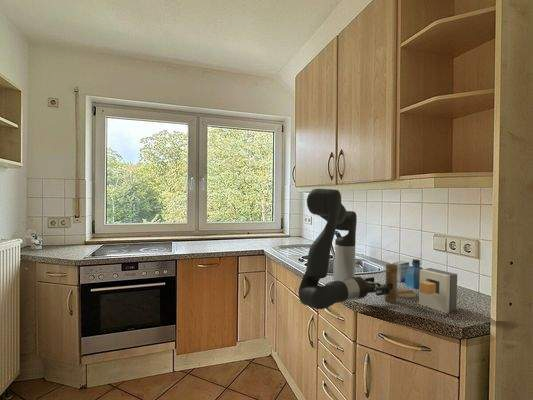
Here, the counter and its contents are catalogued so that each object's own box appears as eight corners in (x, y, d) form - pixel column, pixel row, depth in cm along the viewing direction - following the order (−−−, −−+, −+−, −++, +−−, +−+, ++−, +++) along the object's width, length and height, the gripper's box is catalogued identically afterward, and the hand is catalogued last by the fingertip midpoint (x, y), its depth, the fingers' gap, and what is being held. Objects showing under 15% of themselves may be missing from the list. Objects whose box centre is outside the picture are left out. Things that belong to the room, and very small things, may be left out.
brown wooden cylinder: (382, 300, 116) (383, 264, 116) (389, 298, 118) (390, 263, 118) (391, 303, 113) (392, 266, 113) (398, 302, 115) (399, 265, 115)
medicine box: (400, 282, 142) (400, 264, 142) (391, 280, 145) (392, 262, 145) (409, 279, 146) (409, 262, 146) (400, 277, 150) (400, 260, 150)
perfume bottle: (417, 284, 139) (417, 258, 139) (426, 288, 133) (427, 261, 133) (405, 284, 138) (405, 258, 138) (413, 288, 132) (414, 261, 132)
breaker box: (419, 304, 113) (419, 269, 113) (429, 301, 116) (430, 267, 116) (445, 313, 104) (446, 276, 104) (456, 310, 107) (457, 274, 107)
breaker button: (419, 291, 108) (419, 282, 108) (426, 290, 110) (426, 281, 109) (428, 294, 105) (429, 284, 105) (435, 293, 107) (435, 283, 106)
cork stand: (387, 292, 126) (387, 290, 126) (401, 289, 130) (401, 287, 130) (406, 299, 118) (406, 296, 118) (420, 296, 122) (421, 293, 122)
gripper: (366, 283, 99) (399, 277, 107) (337, 273, 111) (368, 268, 119) (366, 306, 99) (398, 298, 107) (336, 293, 112) (367, 287, 119)
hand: (382, 282), depth 113 cm, fingers open, 8 cm apart
